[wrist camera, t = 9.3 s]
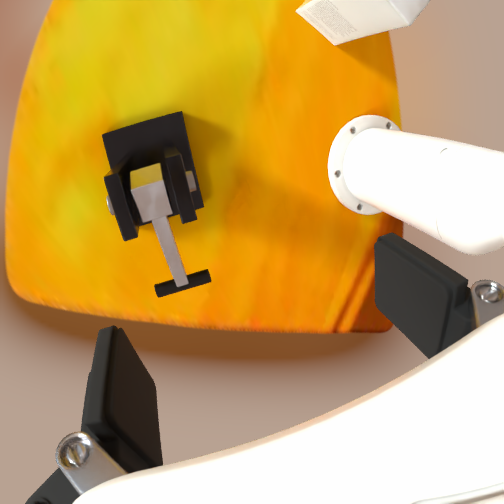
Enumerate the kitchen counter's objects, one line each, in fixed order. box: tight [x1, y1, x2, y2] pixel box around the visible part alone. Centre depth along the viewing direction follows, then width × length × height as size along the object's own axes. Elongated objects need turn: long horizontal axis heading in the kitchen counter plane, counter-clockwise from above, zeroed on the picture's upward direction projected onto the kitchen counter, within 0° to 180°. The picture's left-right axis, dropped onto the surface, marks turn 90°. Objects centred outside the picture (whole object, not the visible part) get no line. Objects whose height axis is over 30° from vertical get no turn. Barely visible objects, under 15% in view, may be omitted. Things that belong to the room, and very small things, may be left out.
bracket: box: [102, 111, 204, 241], centre depth 24 cm, size 10×8×13 cm
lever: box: [130, 163, 211, 298], centre depth 24 cm, size 12×5×2 cm, turn 11°
